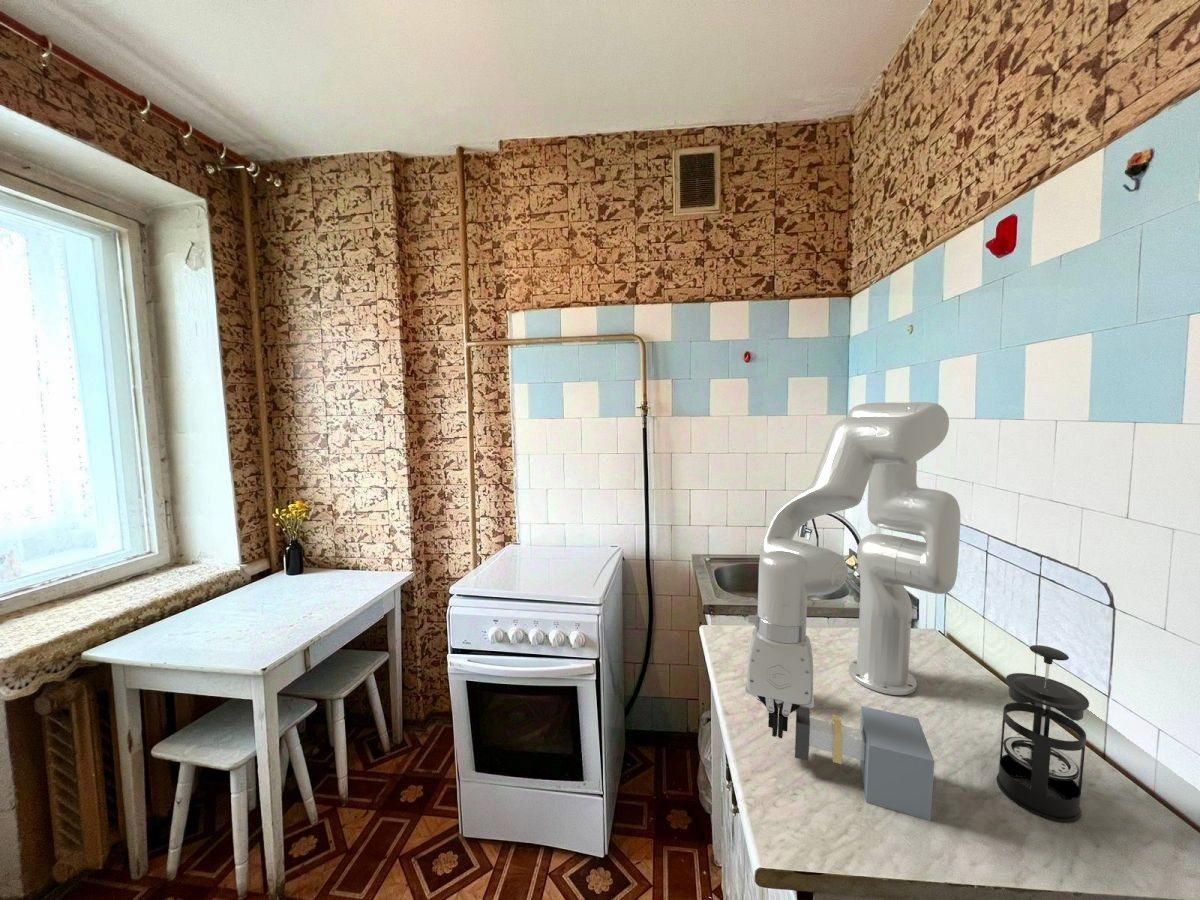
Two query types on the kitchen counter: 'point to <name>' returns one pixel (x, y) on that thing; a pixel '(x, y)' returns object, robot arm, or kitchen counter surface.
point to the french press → (1043, 744)
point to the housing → (896, 763)
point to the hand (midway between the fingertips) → (777, 732)
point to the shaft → (827, 737)
